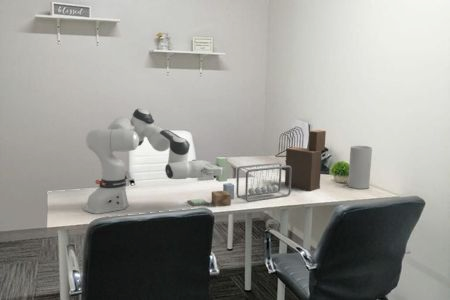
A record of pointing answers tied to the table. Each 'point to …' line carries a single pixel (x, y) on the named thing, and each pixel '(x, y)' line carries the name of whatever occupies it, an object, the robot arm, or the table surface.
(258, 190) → the newton's cradle
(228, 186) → the slate-blue pillar
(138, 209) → the table surface
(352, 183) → the cylinder vase
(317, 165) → the stacked brown boxes
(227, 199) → the walnut block
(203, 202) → the green tile
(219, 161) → the green pillar
